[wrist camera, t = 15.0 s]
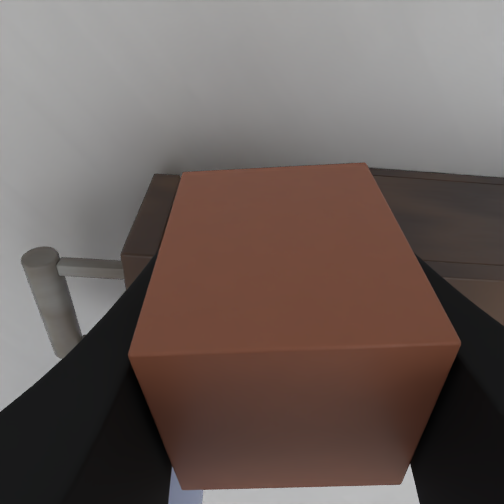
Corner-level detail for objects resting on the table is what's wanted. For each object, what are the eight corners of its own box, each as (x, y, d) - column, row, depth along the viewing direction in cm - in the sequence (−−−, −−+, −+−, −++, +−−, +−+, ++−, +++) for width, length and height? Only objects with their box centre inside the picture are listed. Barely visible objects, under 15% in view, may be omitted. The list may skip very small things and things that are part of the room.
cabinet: (294, 335, 26) (307, 454, 20) (332, 164, 18) (372, 272, 12) (501, 345, 26) (575, 463, 20) (621, 186, 19) (793, 298, 13)
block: (205, 300, 12) (181, 491, 8) (182, 171, 10) (125, 355, 5) (348, 295, 12) (401, 485, 8) (366, 161, 9) (464, 343, 5)
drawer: (86, 329, 24) (46, 420, 19) (40, 164, 17) (-36, 244, 13) (374, 344, 25) (401, 434, 20) (438, 193, 18) (502, 277, 13)
